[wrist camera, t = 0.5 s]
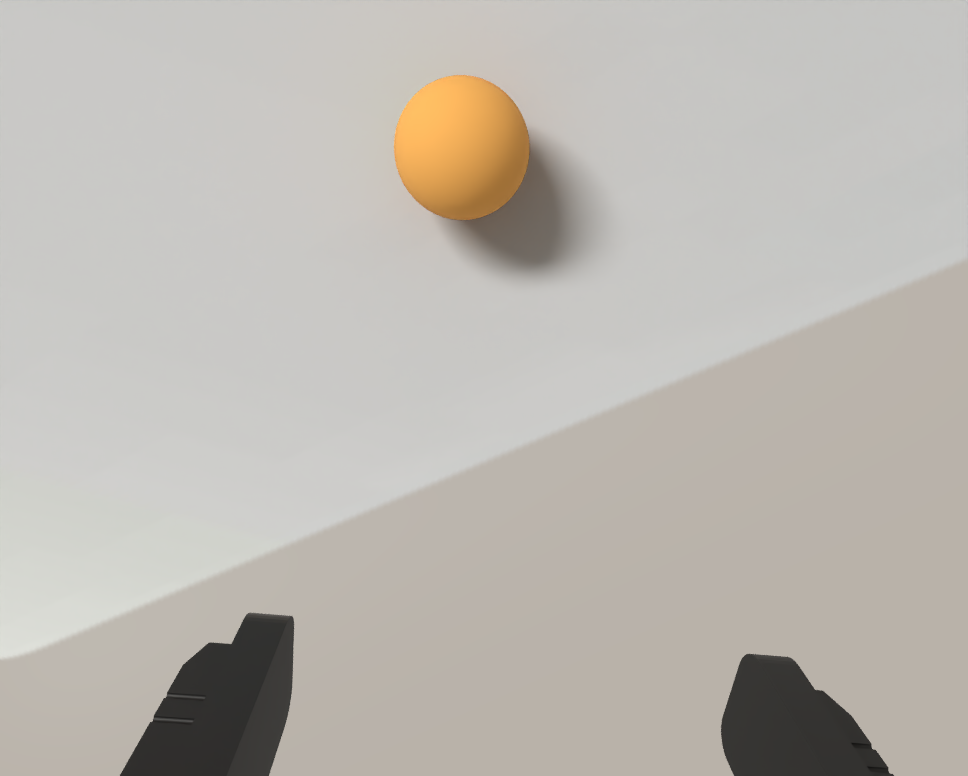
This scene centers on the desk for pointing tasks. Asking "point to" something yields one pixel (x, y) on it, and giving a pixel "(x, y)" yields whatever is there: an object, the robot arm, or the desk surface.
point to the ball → (461, 147)
